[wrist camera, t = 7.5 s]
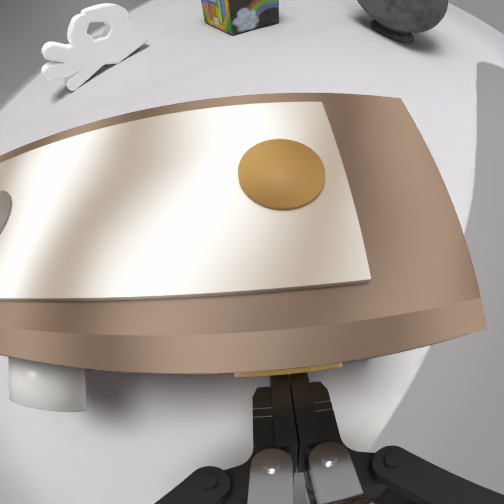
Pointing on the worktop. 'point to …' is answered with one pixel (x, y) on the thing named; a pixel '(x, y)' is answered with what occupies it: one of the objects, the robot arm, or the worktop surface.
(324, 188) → the button panel
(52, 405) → the grey button
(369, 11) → the grey vase
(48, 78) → the white lobed cutout
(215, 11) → the chalk box
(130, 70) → the worktop surface
